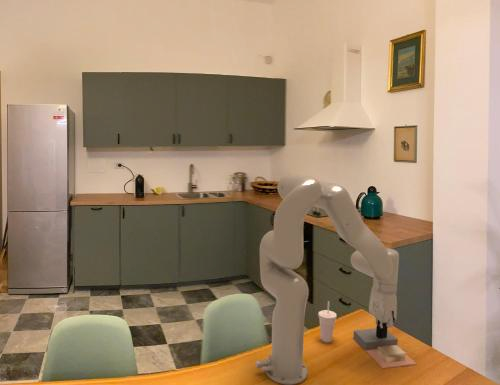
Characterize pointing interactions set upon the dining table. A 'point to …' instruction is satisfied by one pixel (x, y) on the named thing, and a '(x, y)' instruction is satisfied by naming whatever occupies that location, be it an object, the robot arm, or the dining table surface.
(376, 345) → the plate
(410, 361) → the mat
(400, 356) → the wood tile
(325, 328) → the smoothie
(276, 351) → the robot arm
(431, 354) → the dining table surface
